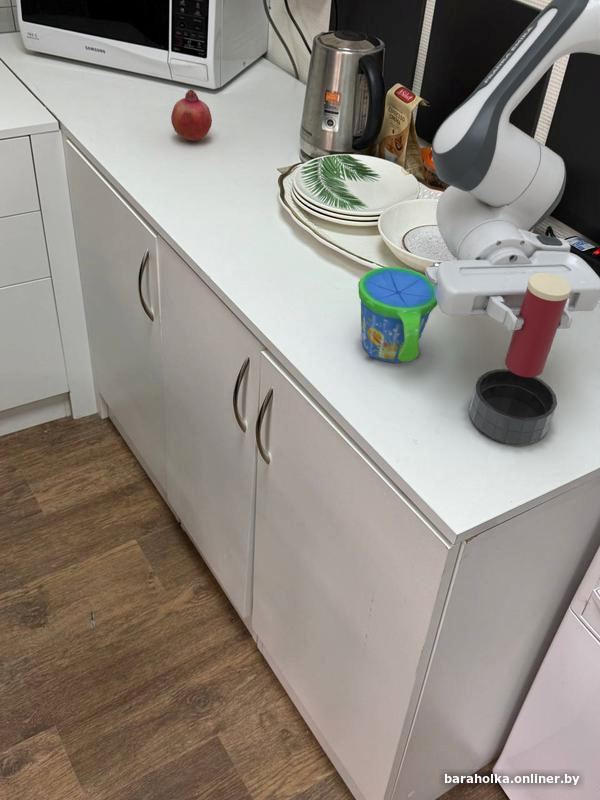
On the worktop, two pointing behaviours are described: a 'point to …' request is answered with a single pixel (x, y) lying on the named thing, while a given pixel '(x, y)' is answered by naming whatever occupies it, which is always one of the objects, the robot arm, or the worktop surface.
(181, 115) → the fruit
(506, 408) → the bowl
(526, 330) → the candy tube
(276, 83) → the worktop surface
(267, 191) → the worktop surface
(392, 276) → the snack cup
